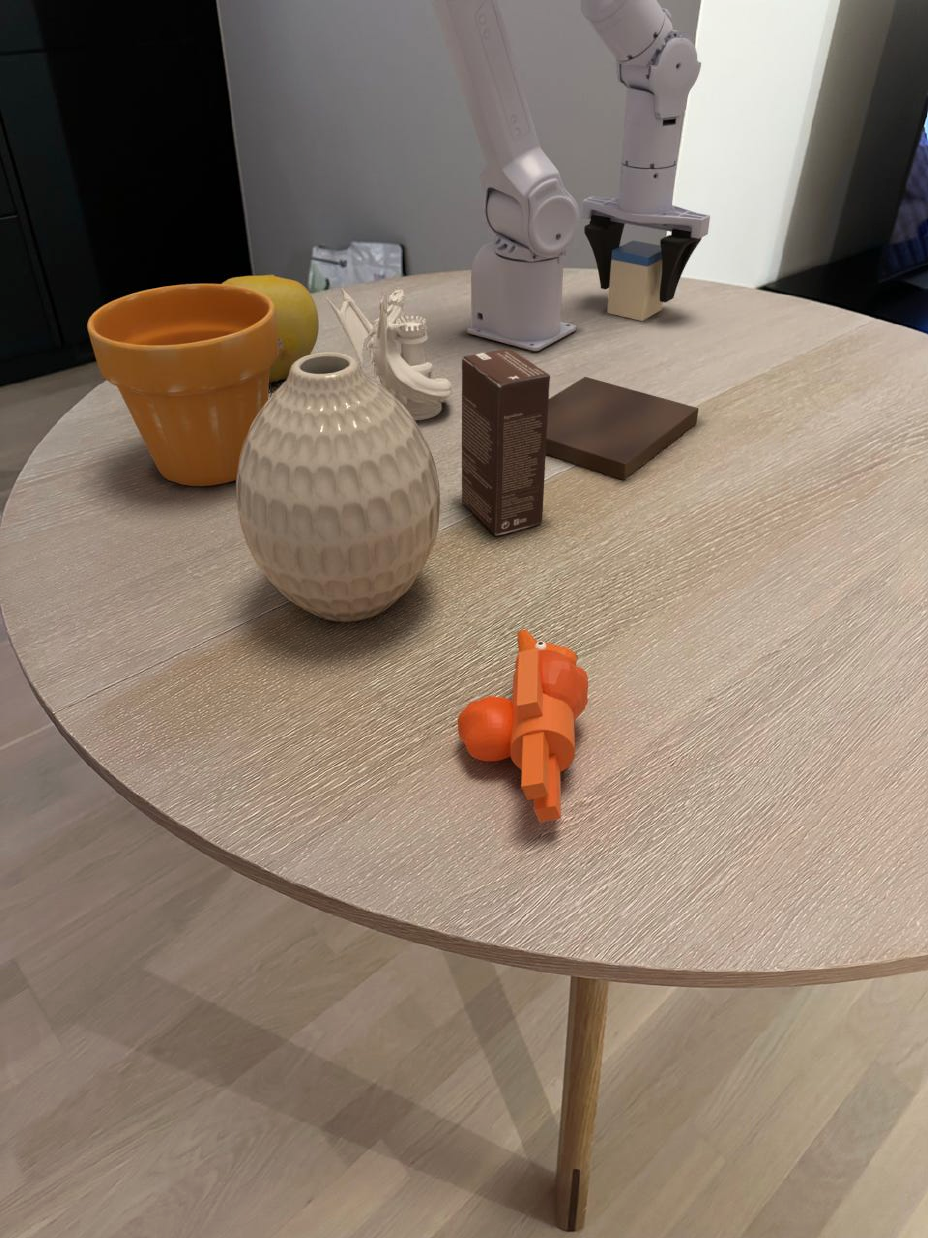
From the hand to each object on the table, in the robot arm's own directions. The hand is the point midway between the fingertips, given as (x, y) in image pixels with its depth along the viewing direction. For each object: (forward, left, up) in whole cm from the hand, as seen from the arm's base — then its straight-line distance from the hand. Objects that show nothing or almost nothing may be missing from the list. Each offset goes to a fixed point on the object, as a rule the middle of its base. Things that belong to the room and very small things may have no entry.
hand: (636, 292), depth 106 cm
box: (+14, -45, -2) cm, 47 cm away
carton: (0, 0, -2) cm, 2 cm away
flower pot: (-11, -53, -2) cm, 54 cm away
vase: (+12, -60, -2) cm, 61 cm away
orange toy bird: (+30, -65, -2) cm, 72 cm away
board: (+13, -29, -2) cm, 31 cm away
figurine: (-5, -36, -2) cm, 36 cm away
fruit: (-21, -37, -2) cm, 43 cm away
